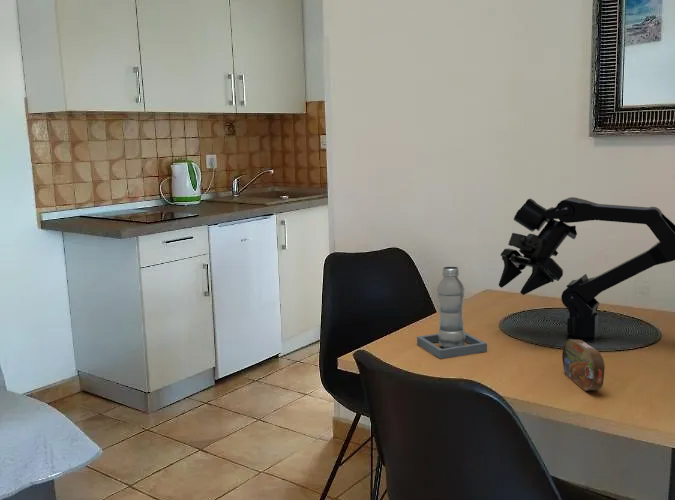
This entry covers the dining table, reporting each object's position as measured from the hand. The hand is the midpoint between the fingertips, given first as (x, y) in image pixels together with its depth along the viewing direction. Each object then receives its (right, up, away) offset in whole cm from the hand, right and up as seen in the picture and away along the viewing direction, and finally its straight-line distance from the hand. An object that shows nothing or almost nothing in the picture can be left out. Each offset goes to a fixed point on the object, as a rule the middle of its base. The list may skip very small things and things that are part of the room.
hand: (510, 290), depth 166 cm
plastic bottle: (-15, -14, -1) cm, 20 cm away
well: (-15, -14, -1) cm, 20 cm away
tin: (+8, -18, -27) cm, 33 cm away
